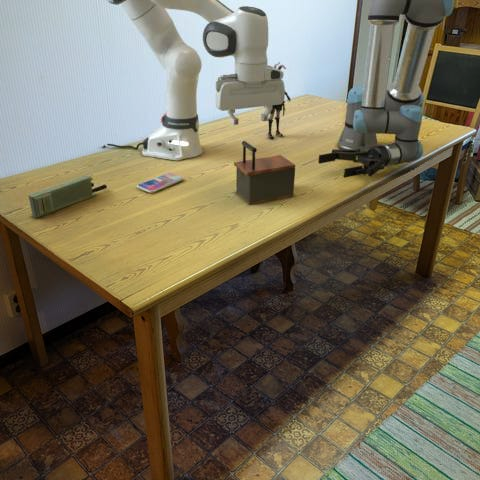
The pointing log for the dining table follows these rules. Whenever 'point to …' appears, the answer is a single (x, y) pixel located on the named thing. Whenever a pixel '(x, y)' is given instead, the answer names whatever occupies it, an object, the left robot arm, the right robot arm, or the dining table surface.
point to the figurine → (277, 112)
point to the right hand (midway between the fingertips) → (331, 166)
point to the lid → (261, 162)
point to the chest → (265, 185)
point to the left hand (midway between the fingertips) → (249, 122)
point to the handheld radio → (62, 195)
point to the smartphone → (159, 182)
